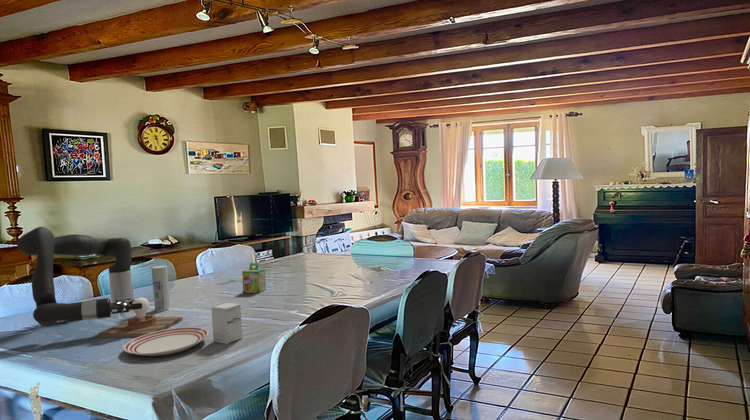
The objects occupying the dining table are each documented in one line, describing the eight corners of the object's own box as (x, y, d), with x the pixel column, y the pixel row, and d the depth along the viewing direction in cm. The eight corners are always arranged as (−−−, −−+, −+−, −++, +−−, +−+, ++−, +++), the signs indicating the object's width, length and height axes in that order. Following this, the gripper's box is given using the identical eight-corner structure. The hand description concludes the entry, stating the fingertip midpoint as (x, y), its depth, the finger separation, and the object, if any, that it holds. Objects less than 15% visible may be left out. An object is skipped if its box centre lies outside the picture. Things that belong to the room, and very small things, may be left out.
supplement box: (227, 344, 169) (224, 308, 168) (212, 341, 173) (210, 306, 172) (243, 338, 175) (241, 303, 174) (229, 335, 179) (226, 301, 178)
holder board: (134, 320, 207) (133, 311, 206) (182, 320, 204) (181, 310, 203) (98, 337, 185) (97, 326, 185) (151, 336, 182) (151, 326, 182)
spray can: (151, 311, 222) (148, 267, 221) (162, 307, 228) (159, 265, 227) (162, 311, 220) (159, 268, 219) (173, 308, 226) (170, 265, 225)
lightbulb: (136, 322, 197) (134, 296, 196) (152, 321, 198) (151, 295, 197) (130, 327, 191) (128, 299, 190) (146, 326, 191) (144, 298, 191)
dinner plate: (124, 368, 151) (123, 357, 151) (123, 344, 175) (123, 335, 175) (215, 350, 164) (214, 340, 163) (203, 330, 188) (202, 322, 188)
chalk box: (242, 293, 251) (241, 265, 250) (250, 289, 260) (248, 262, 259) (259, 293, 249) (257, 264, 249) (266, 289, 258) (264, 261, 258)
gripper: (92, 303, 181) (140, 297, 187) (98, 296, 194) (143, 290, 200) (94, 323, 181) (142, 316, 188) (99, 314, 195) (144, 308, 201)
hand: (142, 303), depth 194 cm, fingers open, 8 cm apart
